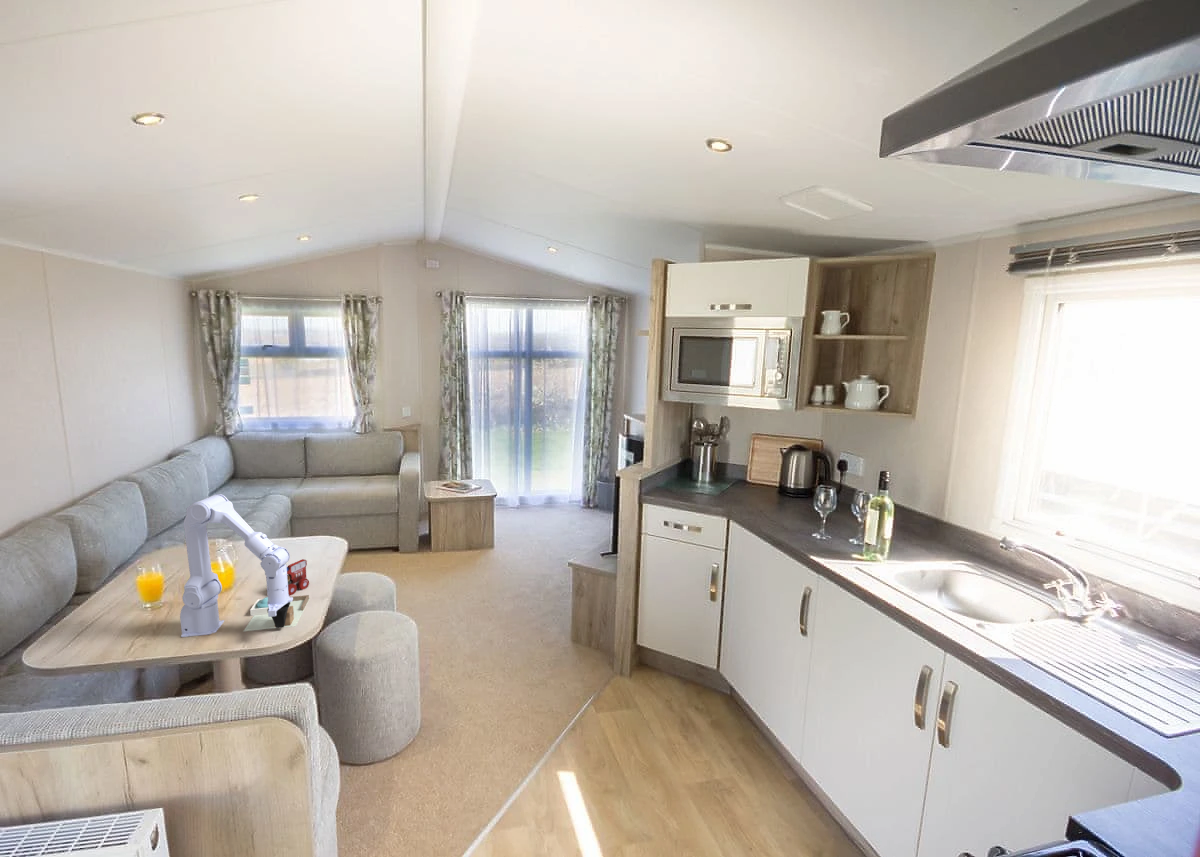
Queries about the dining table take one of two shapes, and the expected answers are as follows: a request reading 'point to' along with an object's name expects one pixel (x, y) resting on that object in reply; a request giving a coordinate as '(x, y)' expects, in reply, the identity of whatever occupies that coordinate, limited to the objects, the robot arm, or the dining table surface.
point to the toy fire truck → (297, 576)
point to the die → (289, 616)
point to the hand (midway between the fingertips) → (280, 626)
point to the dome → (263, 603)
